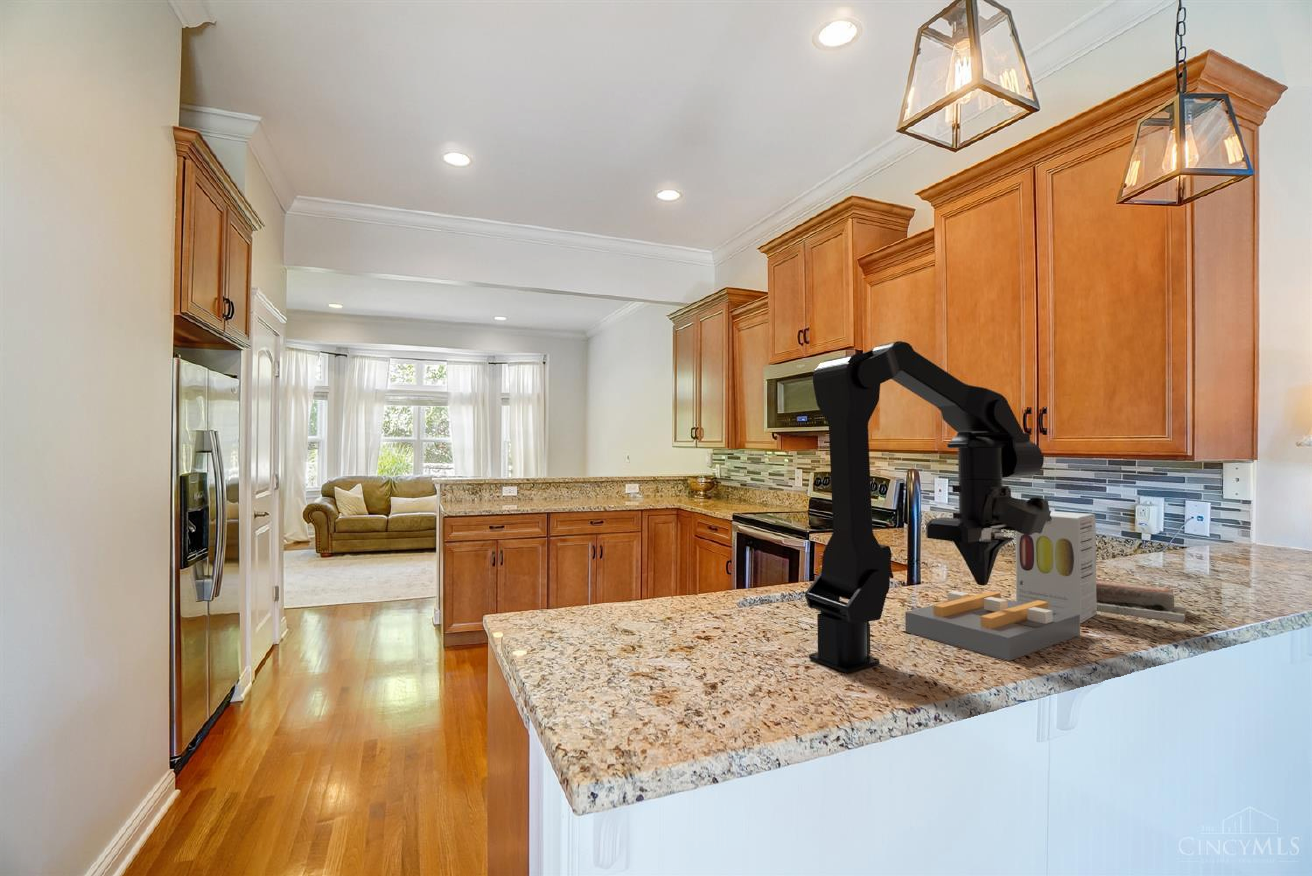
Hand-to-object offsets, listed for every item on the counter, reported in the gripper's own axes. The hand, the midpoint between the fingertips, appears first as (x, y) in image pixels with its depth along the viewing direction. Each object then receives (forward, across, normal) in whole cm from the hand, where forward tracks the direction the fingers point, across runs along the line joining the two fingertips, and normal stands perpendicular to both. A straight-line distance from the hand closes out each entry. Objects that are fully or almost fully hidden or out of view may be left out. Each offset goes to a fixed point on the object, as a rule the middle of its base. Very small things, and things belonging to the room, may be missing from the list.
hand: (982, 585), depth 87 cm
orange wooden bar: (+4, +2, +4) cm, 6 cm away
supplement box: (+8, +22, 0) cm, 24 cm away
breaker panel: (+8, +2, 0) cm, 8 cm away
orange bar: (+4, +2, -4) cm, 6 cm away
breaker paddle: (+4, +4, 0) cm, 6 cm away
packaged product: (+8, +35, -4) cm, 36 cm away
